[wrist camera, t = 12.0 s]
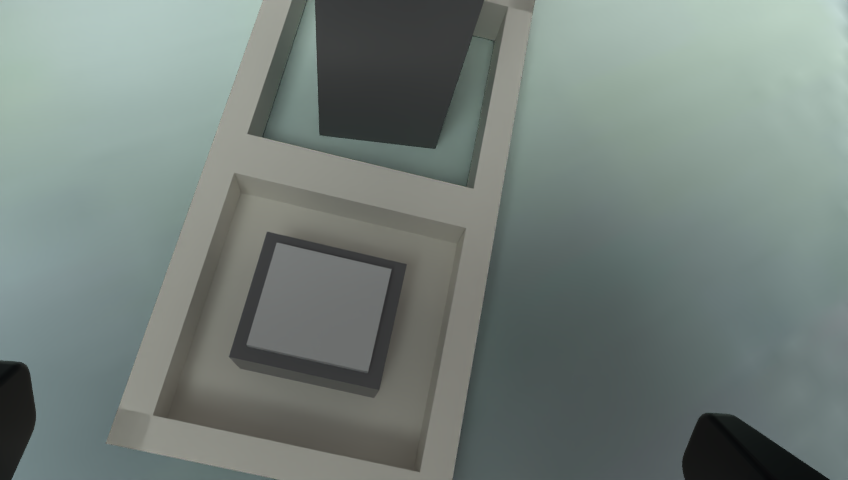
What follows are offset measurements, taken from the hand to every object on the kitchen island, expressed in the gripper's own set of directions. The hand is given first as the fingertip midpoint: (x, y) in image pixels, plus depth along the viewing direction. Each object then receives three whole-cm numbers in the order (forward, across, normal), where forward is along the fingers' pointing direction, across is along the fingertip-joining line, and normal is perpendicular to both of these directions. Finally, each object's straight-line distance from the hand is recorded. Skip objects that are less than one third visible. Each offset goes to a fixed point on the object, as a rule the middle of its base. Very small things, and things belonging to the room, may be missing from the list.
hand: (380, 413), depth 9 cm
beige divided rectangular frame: (+16, +1, +4) cm, 16 cm away
